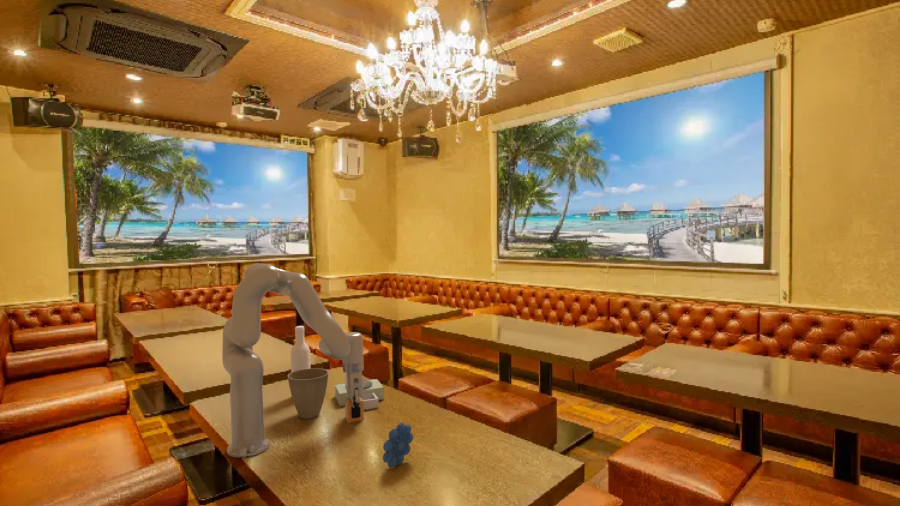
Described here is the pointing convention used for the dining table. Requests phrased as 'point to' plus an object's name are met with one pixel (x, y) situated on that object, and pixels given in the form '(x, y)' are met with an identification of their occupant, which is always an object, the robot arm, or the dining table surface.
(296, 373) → the plant pot
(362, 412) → the orange block
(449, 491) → the dining table surface
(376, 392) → the green box with tray
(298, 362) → the bottle
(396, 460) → the grapes
